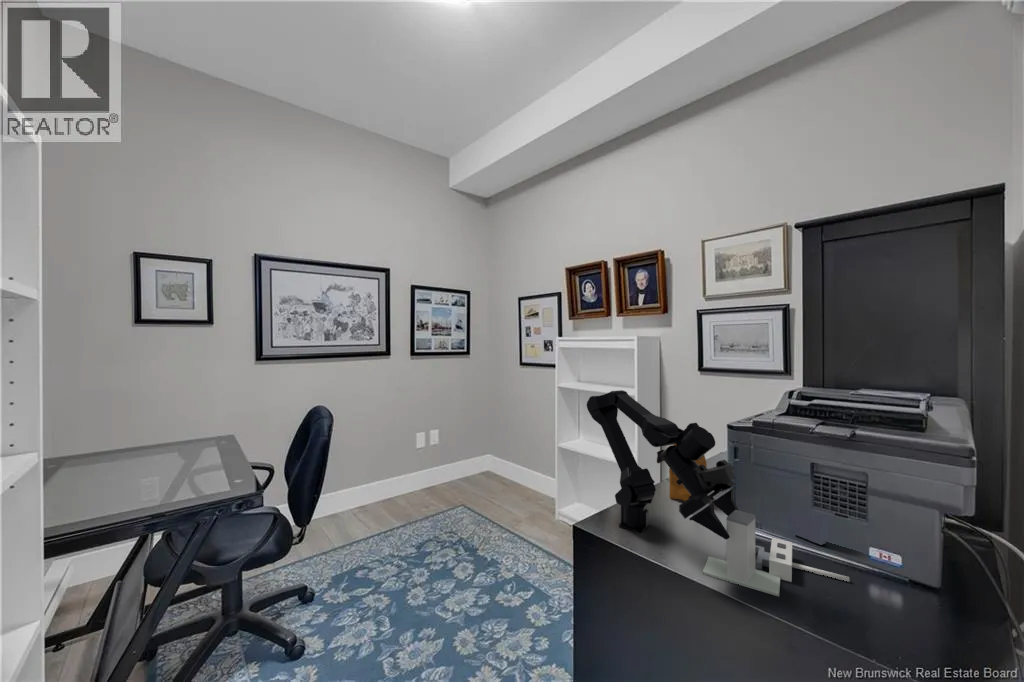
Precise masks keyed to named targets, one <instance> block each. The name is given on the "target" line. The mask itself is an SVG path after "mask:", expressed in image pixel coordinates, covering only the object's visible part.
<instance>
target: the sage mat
mask: <svg viewBox="0 0 1024 682" xmlns="http://www.w3.org/2000/svg"><path fill="white" fill-rule="evenodd" d="M702 575H705V576H708V577H712V578H716V579H718V578H719V580H721V581H725V580H726V581H725V582H728V581H729V582H728V583H732V584H735V585H738V584H739V586H742V587H745V588H749V589H753V590H756V591H759V592H763V593H765V594H769V595H773V596H775V597H778V598H780V590H781V589H780V588H781V579H780V577H779V576H776V575H772V574H769V572H767V571H764V570H760V569H756V568H755V574H754V575H753V576H752V577H751V579H750V580H749V581H748V583H746V582H743V581H741V580H738V579H736V578H733V577H731V576H728V575H727V560H723V559H719V558H716V557H712V556H708V558H707V561H706V563H705V565H704V567H703V570H702Z"/></svg>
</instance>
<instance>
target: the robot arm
mask: <svg viewBox="0 0 1024 682" xmlns="http://www.w3.org/2000/svg"><path fill="white" fill-rule="evenodd" d="M586 409H587V410H588V413H589V414H590V417H591V418H592V420H594V421H595V422H596V423H597V424H599V425H600V426H601V429H602V431H603V432H604V436H605V438H606V440H607V443H608V444H609V445H608V446H609V447H610V450H611V452H612V454H613V456H614V459H615V461H616V463H617V465H618V469H619V471H620V478H619V485H620V489H619V490H618V491H617V492H616V493H615V494H614V497H615V498H614V499H615V502H616V504H617V505H619V506H620V522H619V523H618V527H620V528H623V529H627V530H630V531H633V532H637V533H643V532H644V531H645V530H646V529H647V527H648V526H649V522H650V516H649V515H650V511H649V509H648V507H647V506H648V504H650V505H651V504H652V502H653V499H654V496H655V494H656V486H655V482H656V481H655V480H654V479H653V477H652V475H651V473H650V471H649V469H648V467H647V468H641V466H639V464H638V463H637V460H636V459H635V456H634V454H633V452H632V450H631V447H630V445H629V443H628V441H627V439H626V437H625V434H624V431H623V430H622V428H621V425H620V423H619V420H618V413H619V410H620V412H621V413H622V414H624V415H625V416H626V417H627V418H629V419H630V420H631V421H632V422H633V423H635V424H636V425H637V427H639V428H640V430H641V433H642V436H643V438H644V439H645V440H646V441H647V442H648V444H650V445H651V447H653V448H660V447H661V448H662V447H666V448H665V449H660V450H659V451H657V452H656V454H657V456H656V463H657V464H661V463H662V462H664V463H666V465H667V466H668V468H670V469H671V470H672V471H673V473H674V474H675V475H676V477H677V478H678V479H679V480H677V481H676V482H677V484H678V485H680V484H683V486H684V487H685V488H686V489H687V491H688V492H689V493H690V495H691V496H689V497H688V498H689V499H688V500H686V501H683V502H681V504H679V505H678V511H679V513H680V515H681V516H682V517H683V518H684V519H687V518H688V517H689V518H688V520H689V521H693V522H695V523H697V524H699V526H700V525H701V526H702V527H705V528H706V529H708V530H709V531H712V532H713V533H714V534H716V535H717V536H719V537H720V538H722V539H724V540H727V539H728V538H730V536H729V534H728V533H727V528H725V526H724V525H723V523H722V521H721V520H720V519H719V517H718V515H717V514H716V512H715V507H716V508H718V509H719V510H720V511H721V512H722V513H724V514H725V515H726V516H727V517H728V516H729V515H730V514H731V513H732V512H733V511H735V510H738V511H740V510H739V508H738V506H737V503H736V501H735V499H734V497H735V496H734V493H735V490H736V488H735V487H734V486H735V485H736V483H735V482H734V481H733V480H735V479H737V478H736V475H735V473H734V471H735V467H734V466H732V463H729V462H728V461H727V460H726V459H721V460H718V461H717V462H716V464H715V466H713V467H711V468H707V466H706V467H705V466H704V465H702V464H701V465H698V464H697V463H696V462H695V461H694V460H698V459H699V458H701V457H702V456H703V455H704V456H705V454H707V453H708V452H709V451H710V450H713V448H714V447H715V446H716V440H715V437H714V436H713V433H711V432H709V431H708V430H707V429H706V428H704V427H702V426H700V425H699V424H698V423H697V422H691V423H688V425H687V426H686V427H685V429H682V428H680V427H679V426H678V425H677V424H676V423H674V422H673V421H671V420H669V419H667V418H665V417H662V416H658V415H656V414H653V413H652V412H651V411H650V410H649V409H647V408H646V407H645V406H643V405H642V404H640V402H638V401H637V400H636V399H635V398H633V397H632V396H630V395H629V394H628V391H625V390H623V389H622V390H619V389H618V390H611V391H609V392H607V393H603V394H601V395H591V396H589V398H588V400H587V402H586ZM674 444H677V445H676V446H674ZM667 446H668V447H667ZM732 487H733V488H732ZM730 488H731V489H730ZM711 500H712V502H711ZM691 515H692V516H691ZM690 516H691V517H690Z"/></svg>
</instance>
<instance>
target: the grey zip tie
mask: <svg viewBox="0 0 1024 682" xmlns="http://www.w3.org/2000/svg"><path fill="white" fill-rule="evenodd" d="M755 554H757V558H756V559H755V569H756V570H760V571H763V567H766V568H768V569H769V571H768V573H769V574H772V575H776V576H779V577H780V580H782V581H786V582H790V583H793V582H792V581H793V580H792V579H793V578H792V577H793V576H792V575H793V569H797V570H801V571H804V570H805V572H808V571H809V573H812V572H813V574H817V575H819V576H820V575H821V576H823V575H824V576H823V577H827V576H828V577H827V578H831V577H832V578H831V579H835V578H836V579H837V580H840V581H843V580H844V581H843V582H846V581H847V583H850V576H846V575H843V574H839V573H835V572H831V571H827V570H822V569H819V568H816V567H811V566H807V565H804V564H801V563H796V562H793V542H791V541H787V540H782V539H780V538H774V537H772V538H771V543H770V552H767V551H765V547H764V546H761V545H758V544H757V545H756V544H755Z"/></svg>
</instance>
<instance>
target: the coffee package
mask: <svg viewBox="0 0 1024 682" xmlns="http://www.w3.org/2000/svg"><path fill="white" fill-rule="evenodd" d="M676 445H677V444H674V446H676ZM694 461H695V462H696V463H697V464H698V465H701V464H702V465H704V466H705V467H706V468H707V460H706V456H705V454H704V455H703V456H702V457H701V458H699V459H698V460H694ZM668 468H669V467H668ZM668 471H669V472H668V473H669V474H668V475H669V481H668V482H669V498H670V499H671V500H679V501H683V502H685V501H686V500H688V499H689V498H688V497H689V496H691V495H690V493H689V492H688V491H687V489H686V488H685V487H684V486H683V484H680V485H678V484H677V482H676V481H677V480H679V479H678V478H677V477H676V475H675V474H674V473H673V471H672V470H671V469H670V468H669V470H668Z"/></svg>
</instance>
